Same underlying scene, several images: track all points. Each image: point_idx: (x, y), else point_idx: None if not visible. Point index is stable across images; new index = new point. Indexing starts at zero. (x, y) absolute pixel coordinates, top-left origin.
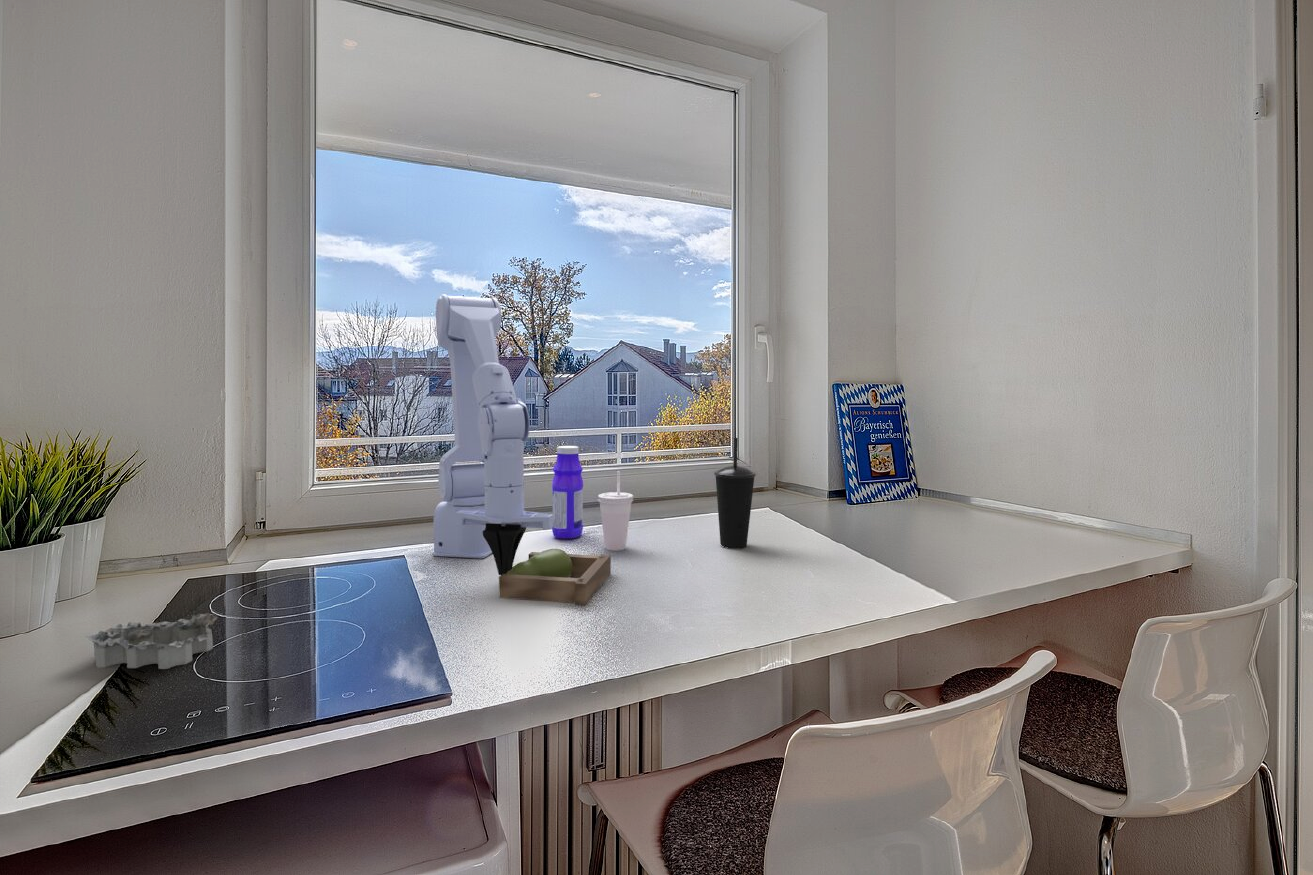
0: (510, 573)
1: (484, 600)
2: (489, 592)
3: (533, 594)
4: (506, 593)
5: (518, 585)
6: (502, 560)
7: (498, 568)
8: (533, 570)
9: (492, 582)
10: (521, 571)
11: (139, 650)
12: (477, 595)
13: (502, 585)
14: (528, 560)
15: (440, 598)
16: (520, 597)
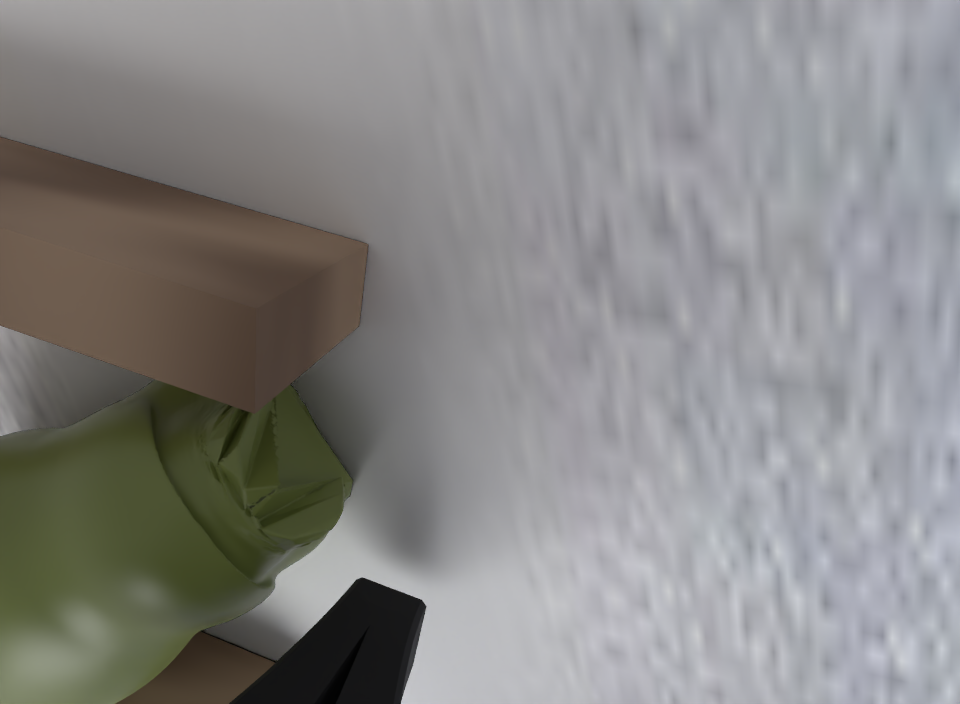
0: (237, 472)
1: (478, 183)
2: (478, 387)
3: (61, 172)
4: (282, 233)
5: (116, 220)
6: (317, 692)
7: (397, 639)
8: (51, 471)
9: (500, 588)
10: (127, 460)
11: None
12: (565, 327)
13: (275, 264)
14: (78, 613)
15: (952, 277)
16: (189, 199)
